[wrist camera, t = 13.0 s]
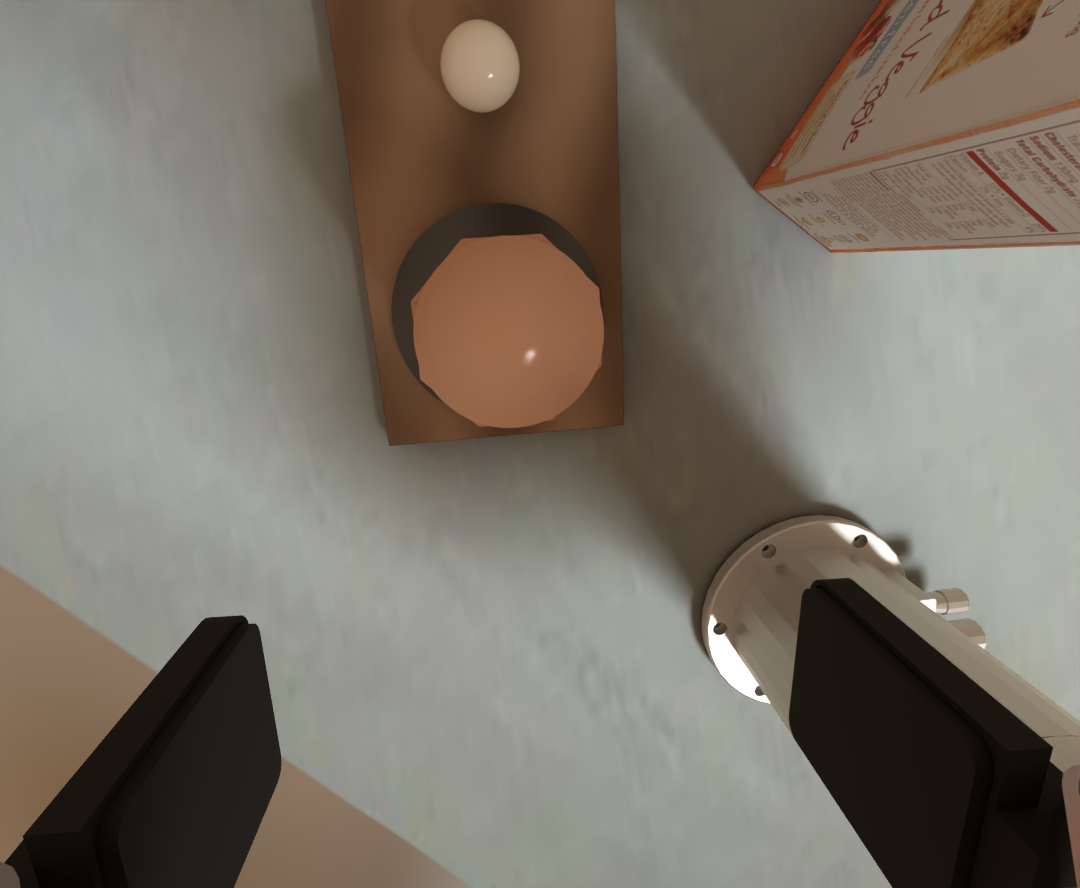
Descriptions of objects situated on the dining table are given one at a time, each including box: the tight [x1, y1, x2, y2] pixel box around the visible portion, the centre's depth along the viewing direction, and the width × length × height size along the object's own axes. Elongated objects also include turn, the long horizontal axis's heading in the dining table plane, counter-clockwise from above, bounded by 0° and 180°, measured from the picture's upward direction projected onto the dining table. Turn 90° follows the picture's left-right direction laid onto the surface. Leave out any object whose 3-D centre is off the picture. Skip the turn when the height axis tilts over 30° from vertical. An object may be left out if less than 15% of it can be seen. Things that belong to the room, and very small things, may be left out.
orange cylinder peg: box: [411, 234, 604, 428], centre depth 24 cm, size 7×7×8 cm
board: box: [326, 0, 624, 446], centre depth 28 cm, size 12×22×2 cm, turn 4°
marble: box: [440, 19, 520, 113], centre depth 24 cm, size 3×3×3 cm
